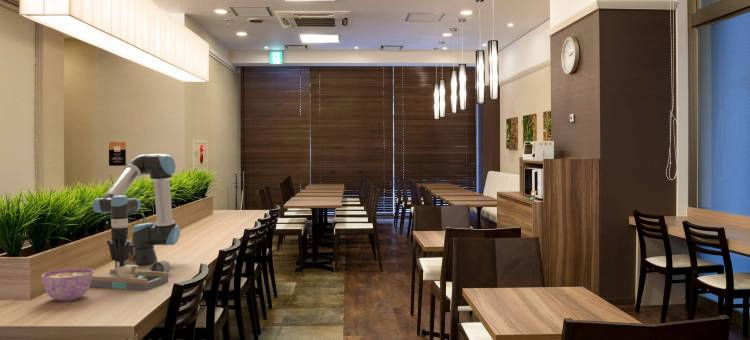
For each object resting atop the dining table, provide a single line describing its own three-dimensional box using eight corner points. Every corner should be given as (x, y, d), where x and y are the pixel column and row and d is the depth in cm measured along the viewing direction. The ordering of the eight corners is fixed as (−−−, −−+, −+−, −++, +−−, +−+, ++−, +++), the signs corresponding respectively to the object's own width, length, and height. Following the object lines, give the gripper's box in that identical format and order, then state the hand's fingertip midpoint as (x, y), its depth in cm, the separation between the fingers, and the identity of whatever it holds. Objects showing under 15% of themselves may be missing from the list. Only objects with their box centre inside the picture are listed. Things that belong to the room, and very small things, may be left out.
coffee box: (126, 273, 282) (126, 243, 282) (136, 274, 281) (136, 244, 281) (114, 277, 273) (114, 246, 273) (125, 278, 272) (125, 247, 272)
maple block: (127, 276, 263) (127, 264, 263) (138, 277, 262) (138, 265, 261) (119, 279, 257) (119, 267, 257) (129, 279, 256) (129, 267, 256)
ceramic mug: (171, 273, 283) (171, 259, 283) (164, 276, 275) (163, 262, 275) (153, 273, 285) (152, 259, 284) (145, 276, 276) (144, 262, 276)
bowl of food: (60, 292, 244) (60, 267, 243) (102, 293, 243) (102, 268, 243) (30, 304, 224) (30, 277, 223) (77, 305, 223) (76, 278, 223)
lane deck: (113, 278, 272) (112, 268, 272) (168, 281, 265) (167, 271, 265) (86, 286, 255) (86, 276, 254) (145, 290, 248) (144, 280, 247)
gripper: (102, 227, 258) (102, 275, 258) (125, 228, 255) (125, 276, 255) (113, 225, 265) (113, 272, 266) (136, 226, 262) (136, 273, 263)
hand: (119, 274), depth 260 cm, fingers closed
